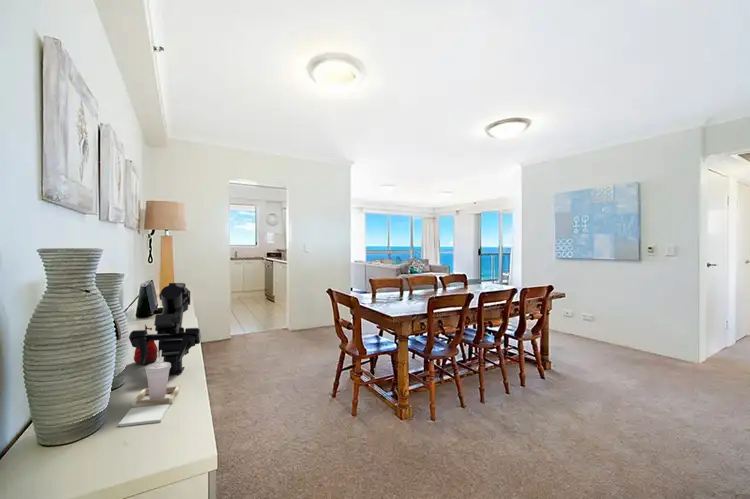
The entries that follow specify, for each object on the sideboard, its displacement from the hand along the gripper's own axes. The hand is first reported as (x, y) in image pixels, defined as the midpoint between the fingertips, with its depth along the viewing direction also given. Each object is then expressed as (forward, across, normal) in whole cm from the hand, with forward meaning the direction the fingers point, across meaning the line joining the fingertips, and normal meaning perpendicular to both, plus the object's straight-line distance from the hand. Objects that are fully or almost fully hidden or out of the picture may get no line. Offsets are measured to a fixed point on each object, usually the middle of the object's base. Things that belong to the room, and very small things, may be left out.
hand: (160, 362), depth 102 cm
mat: (+16, 0, -2) cm, 16 cm away
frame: (+8, 0, +5) cm, 10 cm away
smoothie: (+9, 0, +6) cm, 10 cm away
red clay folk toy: (-18, -13, +32) cm, 38 cm away
